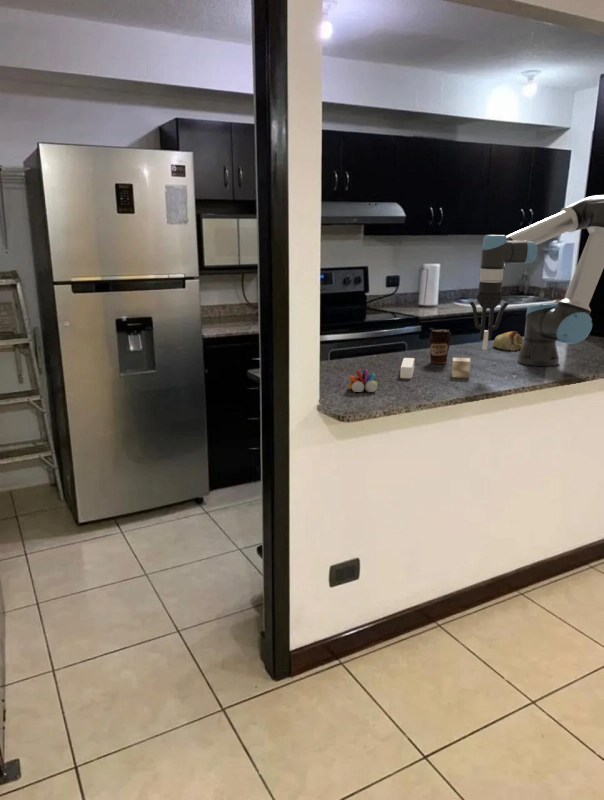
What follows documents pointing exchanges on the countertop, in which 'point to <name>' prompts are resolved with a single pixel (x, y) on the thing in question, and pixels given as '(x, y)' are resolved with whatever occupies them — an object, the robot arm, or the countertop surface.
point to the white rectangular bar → (407, 368)
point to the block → (461, 367)
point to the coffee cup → (439, 346)
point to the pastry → (508, 341)
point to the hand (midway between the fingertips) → (484, 348)
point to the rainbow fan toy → (363, 382)
